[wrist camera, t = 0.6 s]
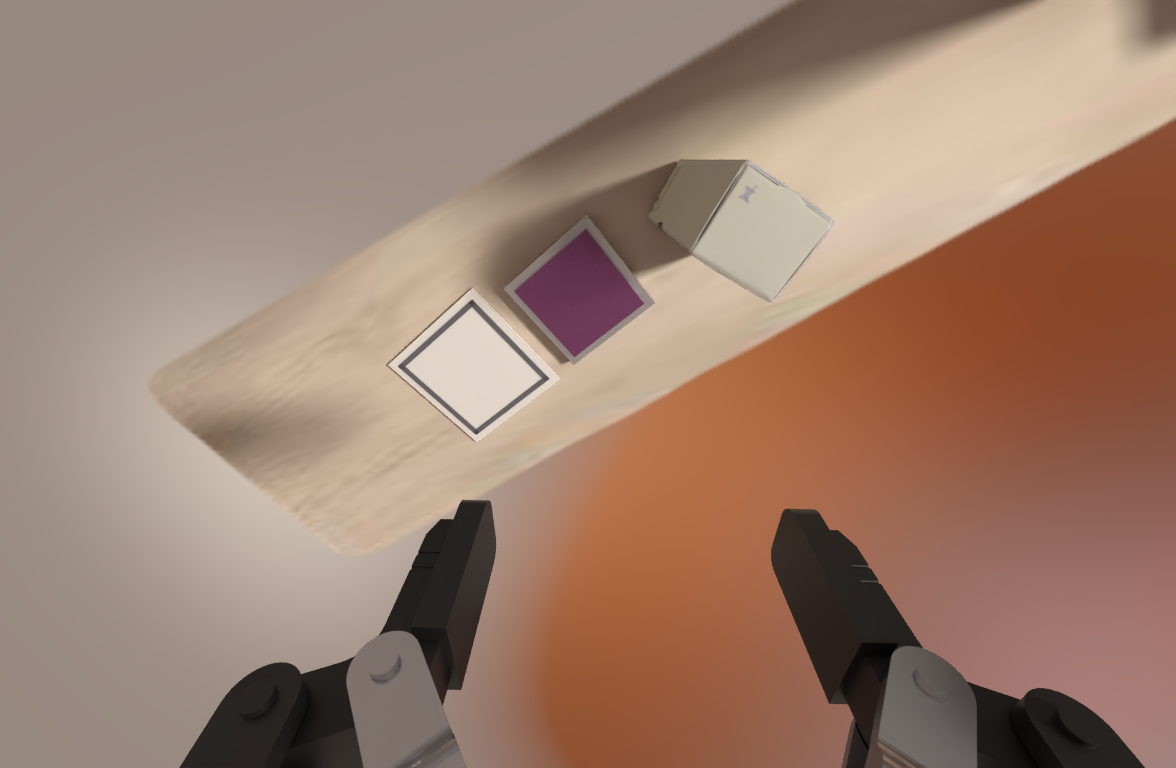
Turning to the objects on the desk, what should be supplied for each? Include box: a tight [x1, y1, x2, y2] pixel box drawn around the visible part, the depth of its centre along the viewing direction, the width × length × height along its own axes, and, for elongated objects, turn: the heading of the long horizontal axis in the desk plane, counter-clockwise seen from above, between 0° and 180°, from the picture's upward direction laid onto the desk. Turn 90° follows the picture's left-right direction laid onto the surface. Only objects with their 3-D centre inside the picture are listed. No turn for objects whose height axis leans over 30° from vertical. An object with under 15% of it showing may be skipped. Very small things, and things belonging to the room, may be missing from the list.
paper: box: [389, 288, 560, 442], centre depth 35 cm, size 10×10×1 cm
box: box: [648, 159, 834, 302], centre depth 24 cm, size 5×4×13 cm
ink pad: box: [504, 214, 655, 365], centre depth 32 cm, size 8×8×1 cm
